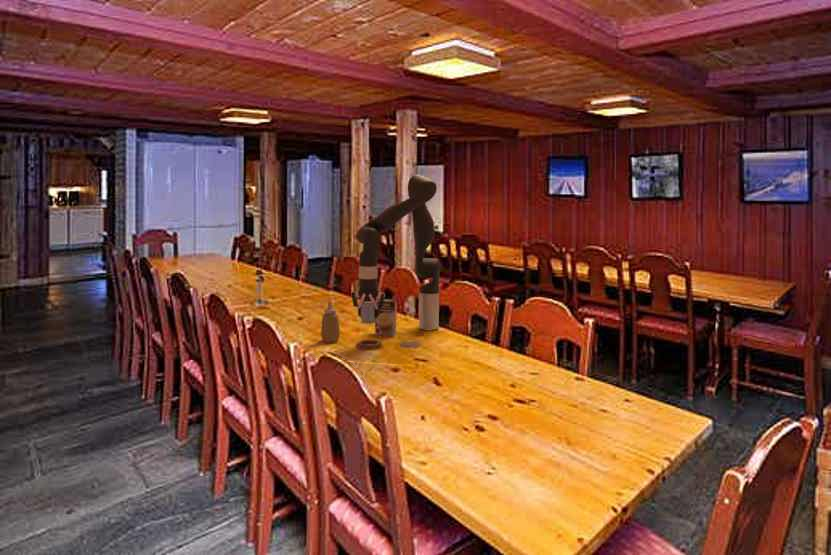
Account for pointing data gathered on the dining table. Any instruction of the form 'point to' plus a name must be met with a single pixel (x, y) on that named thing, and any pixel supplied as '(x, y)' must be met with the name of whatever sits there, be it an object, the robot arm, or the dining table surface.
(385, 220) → the robot arm
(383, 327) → the coffee box
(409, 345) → the felt coaster
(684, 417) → the dining table surface
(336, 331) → the squeeze bottle
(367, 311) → the jug
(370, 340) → the stand
